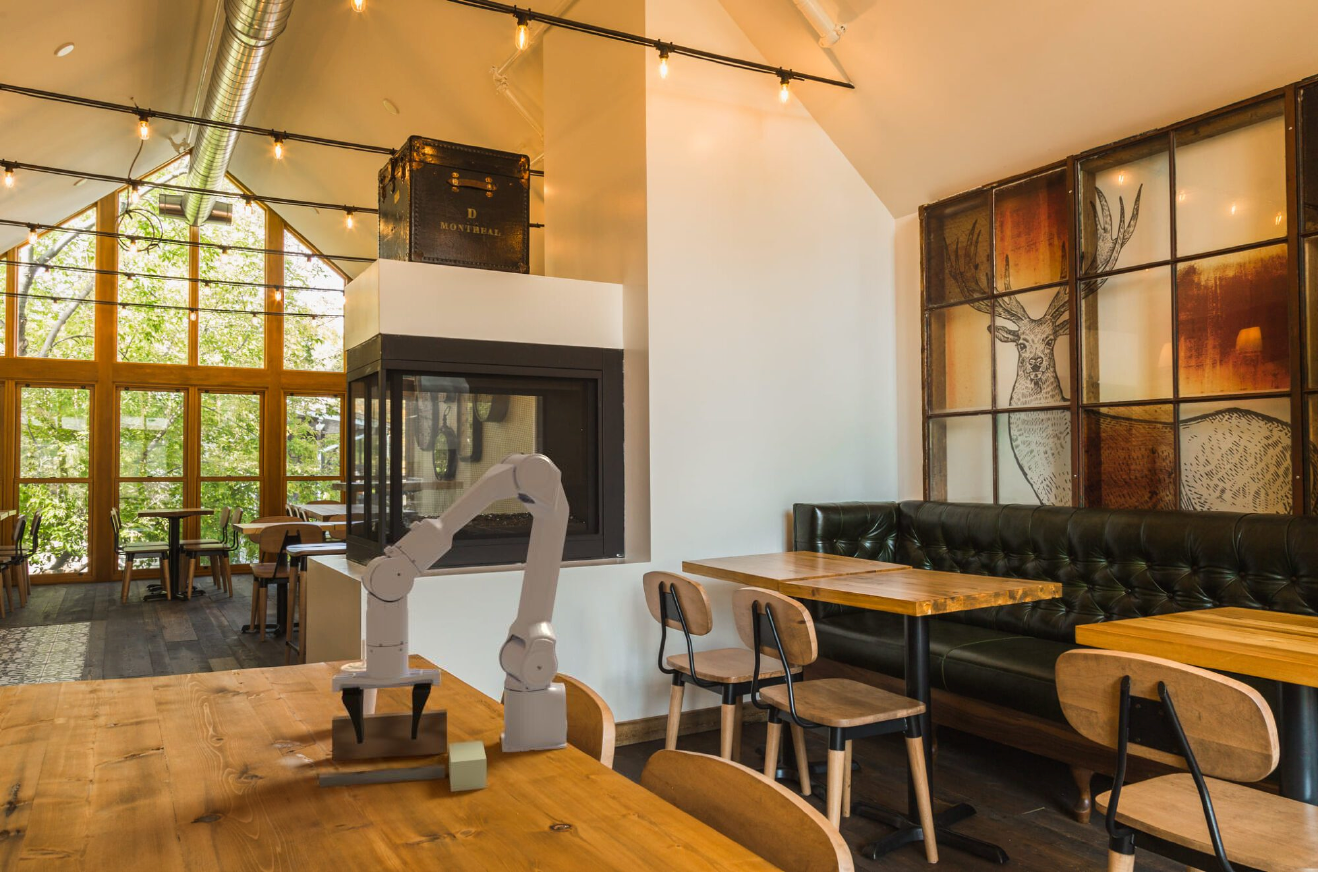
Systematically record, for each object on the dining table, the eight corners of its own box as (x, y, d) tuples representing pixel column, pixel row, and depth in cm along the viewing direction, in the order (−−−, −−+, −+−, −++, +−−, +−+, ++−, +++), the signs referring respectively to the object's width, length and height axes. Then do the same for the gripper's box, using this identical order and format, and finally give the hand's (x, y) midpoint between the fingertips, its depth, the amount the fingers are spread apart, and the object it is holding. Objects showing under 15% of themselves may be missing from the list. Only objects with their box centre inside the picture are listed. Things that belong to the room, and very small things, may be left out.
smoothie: (368, 733, 139) (368, 644, 139) (331, 731, 140) (331, 642, 141) (388, 721, 145) (388, 635, 146) (353, 719, 147) (353, 634, 147)
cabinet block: (482, 773, 122) (482, 740, 122) (486, 793, 115) (486, 758, 115) (448, 776, 121) (448, 743, 121) (451, 797, 114) (450, 762, 114)
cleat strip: (444, 777, 120) (444, 764, 120) (444, 781, 119) (444, 767, 119) (320, 788, 117) (320, 774, 117) (318, 791, 116) (318, 777, 116)
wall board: (447, 749, 131) (447, 709, 131) (446, 753, 130) (446, 712, 130) (333, 758, 128) (333, 716, 128) (332, 761, 126) (332, 719, 127)
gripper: (441, 634, 130) (441, 726, 130) (337, 639, 127) (337, 734, 127) (439, 644, 123) (440, 742, 123) (329, 650, 120) (329, 750, 120)
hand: (387, 739), depth 124 cm, fingers open, 7 cm apart
